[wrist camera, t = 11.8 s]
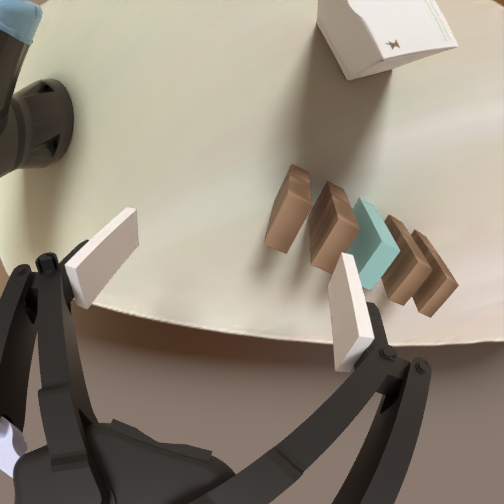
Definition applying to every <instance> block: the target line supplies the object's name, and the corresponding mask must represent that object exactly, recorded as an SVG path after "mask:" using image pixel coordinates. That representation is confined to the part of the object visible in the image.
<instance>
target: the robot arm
mask: <svg viewBox="0 0 504 504" xmlns="http://www.w3.org/2000/svg"><path fill="white" fill-rule="evenodd" d="M41 18H42V9H41V7H40V6H39V5H37V4H35V3H33V2H29V1H26V0H0V177H2V176H4V175H6V174H8V173H9V172H11V171H13V170H16V169H26V168H43V167H46V166H48V165H51V164H53V163H55V162H57V161H58V160H59V159H60V158H61V157H62V156H63V155H64V153H65V151H66V150H67V148H68V145H69V142H70V139H71V135H72V129H73V108H72V103H71V99H70V96H69V94H68V92H67V90H66V88H65V87H64V85H63V84H62V83H60V82H59V81H57V80H55V79H45V80H39V81H36V82H34V83H32V84H30V85H28V86H27V87H25V88H23V89H21V90H20V91H18V92H16V93H15V94H13V92H14V89H15V85H16V82H17V79H18V76H19V73H20V70H21V67H22V64H23V62H24V59H25V56H26V54H27V52H28V49H29V47H30V45H31V44H32V43H33V37H34V35H35V32H36V30H37V27H38V25H39V23H40V20H41ZM138 245H139V241H138V224H137V209H133V208H128V207H127V208H126V209H125V210H123V211H122V212H121V213H120V214H119V215H117V216H116V217H115V218H114V219H113V220H112V221H111V222H109V223H108V224H107V225H106V226H105V227H104V228H103V229H102V230H100V231H99V232H98V233H97V234H96V235H95V236H94V237H93V238H92V239H91V240H85V241H83V242H82V243H80V244H79V245H78V246H76V247H75V249H73V250H72V251H71V252H70V253H69V254H68V255H67V256H66V257H65V258H64V259H63V260H62V261H61V262H60V263H58V259H57V256H56V254H54V253H51V252H49V253H44V254H42V255H40V256H39V257H38V258H37V259H36V261H35V263H36V266H37V269H38V272H32V271H31V268H30V266H29V265H28V264H22V265H19V266H17V267H16V268H15V269H14V270H13V272H12V274H11V276H10V278H9V280H8V282H7V285H6V287H5V289H4V291H3V294H2V296H1V299H0V469H1V470H2V471H4V472H5V473H7V474H8V475H9V476H11V477H12V478H13V482H14V487H15V503H14V504H269V503H270V502H271V501H273V500H274V499H275V498H276V497H278V496H279V495H280V494H281V493H283V492H284V491H285V490H286V489H287V488H288V487H289V486H291V485H292V484H293V483H294V482H295V481H296V480H298V479H299V478H300V476H301V475H302V474H303V472H304V471H305V470H306V469H307V468H308V467H309V466H310V465H311V464H312V463H313V462H314V461H315V460H316V459H317V458H318V457H319V456H320V455H321V454H322V453H323V452H324V451H325V450H326V449H327V448H328V447H329V446H330V445H331V444H332V443H333V442H334V441H335V440H336V439H337V438H338V437H339V436H340V434H341V433H342V432H343V431H344V430H345V429H346V427H348V425H349V424H350V423H351V422H352V421H353V419H354V418H355V417H356V416H357V415H358V414H359V412H360V411H361V410H362V409H363V407H364V406H365V405H366V404H367V402H368V401H369V400H370V398H371V397H372V396H373V394H374V393H375V392H378V393H381V394H383V396H382V399H381V401H380V404H379V407H378V410H377V412H376V415H375V417H374V420H373V422H372V425H371V427H370V430H369V432H368V435H367V437H366V439H365V441H364V443H363V446H362V448H361V450H360V452H359V454H358V456H357V458H356V461H355V462H354V464H353V466H352V468H351V470H350V472H349V474H348V476H347V478H346V480H345V482H344V483H343V485H342V487H341V489H340V490H339V492H338V494H337V496H336V497H335V499H334V501H333V502H332V504H394V502H395V500H396V498H397V495H398V493H399V491H400V488H401V485H402V483H403V481H404V478H405V475H406V473H407V470H408V466H409V464H410V461H411V458H412V455H413V452H414V448H415V445H416V442H417V438H418V435H419V430H420V427H421V423H422V419H423V414H424V410H425V405H426V401H427V396H428V390H429V385H430V379H431V367H430V365H429V363H428V362H427V361H426V360H425V359H423V358H420V357H415V358H414V359H413V360H412V361H411V362H409V361H406V360H404V359H401V358H399V357H398V356H397V353H396V351H395V349H394V348H393V347H392V346H390V345H388V342H387V338H386V334H385V330H384V326H383V325H382V324H383V323H382V319H381V315H380V312H379V310H378V308H377V307H376V305H375V304H374V303H369V302H366V301H365V297H364V293H363V289H362V285H361V282H360V278H359V274H358V271H357V267H356V264H355V261H354V257H353V255H350V254H346V253H341V255H340V258H339V260H338V263H337V265H336V268H335V270H334V272H333V275H332V277H331V280H330V282H329V284H328V295H329V304H330V313H331V323H332V334H333V345H334V359H335V371H341V372H350V371H351V369H352V368H353V367H355V371H354V372H353V373H352V374H351V375H350V376H349V378H348V379H347V380H346V381H345V382H344V383H343V384H342V385H341V386H340V387H339V388H338V389H337V390H336V391H335V392H334V393H333V394H332V396H330V398H328V400H326V401H325V402H324V403H323V404H322V405H321V406H320V407H319V408H318V409H317V410H316V411H315V412H314V413H313V414H312V415H311V416H310V417H309V418H308V419H307V420H306V421H304V422H303V423H302V424H301V425H300V426H299V427H298V428H296V429H295V430H294V431H293V432H292V433H291V434H290V435H289V436H287V437H286V438H285V439H284V440H282V441H281V442H280V443H279V444H278V445H276V446H275V447H274V448H272V449H271V450H269V451H268V452H266V453H265V454H264V455H263V456H261V457H260V458H259V459H257V460H256V461H255V462H253V463H252V464H251V465H249V466H248V467H246V468H245V469H244V470H242V471H241V472H239V473H238V474H235V473H234V472H233V470H232V469H231V468H230V467H229V466H228V465H226V464H225V463H224V462H223V461H221V460H219V459H218V458H216V457H214V456H211V454H212V451H210V450H205V449H201V448H197V447H193V446H190V445H185V444H183V445H182V444H169V443H159V442H157V441H155V440H153V439H152V438H150V437H148V436H147V435H145V434H144V433H142V432H141V431H139V430H138V429H136V428H135V427H132V426H129V425H127V424H125V423H122V422H120V421H117V420H115V419H113V420H112V422H111V423H98V420H97V418H96V417H95V414H94V412H93V410H92V407H91V403H90V399H89V396H88V392H87V388H86V384H85V380H84V375H83V371H82V366H81V361H80V356H79V352H78V345H77V339H76V333H75V325H74V318H73V309H72V304H71V301H72V299H73V298H75V301H76V304H77V305H78V306H80V307H83V308H85V309H88V308H89V306H90V305H91V304H92V302H93V301H94V300H95V298H96V297H97V296H98V294H99V293H100V292H101V290H102V289H103V288H104V287H105V285H106V284H107V283H108V282H109V280H110V279H111V278H112V277H113V275H114V274H115V273H116V272H117V270H118V269H119V268H120V267H121V265H122V264H123V263H124V262H125V261H126V259H127V258H128V257H129V256H130V255H131V253H132V252H133V251H134V250H135V249H136V248H137V246H138ZM37 330H38V350H39V363H40V374H41V382H42V389H40V390H39V391H38V399H39V406H40V411H41V417H42V422H43V427H44V432H45V436H46V440H47V444H48V445H45V446H43V447H41V448H38V449H36V450H34V451H31V452H29V453H26V454H25V451H27V444H26V442H25V441H24V436H23V434H22V432H23V427H24V421H25V411H26V398H27V388H28V380H29V373H30V366H31V360H32V354H33V349H34V344H35V339H36V334H37Z"/></svg>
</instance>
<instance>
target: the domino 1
mask: <svg viewBox="0 0 504 504" xmlns="http://www.w3.org/2000/svg"><path fill="white" fill-rule="evenodd" d="M311 208H312V196H311V187H310V178H309V172H308V171H306V170H303V169H301V168H299V167H297V166H295V165H293V164H292V165H291V167H290V169H289V171H288V173H287V175H286V177H285V179H284V182H283V184H282V186H281V188H280V190H279V192H278V194H277V196H276V199H275V201H274V205H273V209H272V213H271V217H270V221H269V225H268V228H267V232H266V236H265V240H264V244H265V245H267V246H270V247H272V248H274V249H276V250H279V251H281V252H283V253H286V254H287V252H288V250H289V248H290V246H291V245H292V243H293V241H294V239H295V237H296V236H297V234H298V232H299V230H300V228H301V226H302V225H303V223H304V221H305V219H306V217H307V215H308V213H309V212H310V210H311Z"/></svg>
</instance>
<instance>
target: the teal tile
mask: <svg viewBox="0 0 504 504" xmlns="http://www.w3.org/2000/svg"><path fill="white" fill-rule="evenodd" d="M353 213H354V215H355V218H356V220H357V222H358V225H359V227H360V232H359V233H358V235H357V237H356V238H355V240H354V241H353V243H352V244H351V246H350V247H349V249H348V250H347V252H346V254H350V255H353V257H354V261H355V264H356V267H357V271H358V274H359V278H360V282H361V285H362V287H363V288H366V289H368V290H370V291H371V290H372V288H373V287H374V286H375V284H376V283H377V282H378V281H379V279H380V278H381V277H382V275H383V274H384V273H385V271H386V270H387V269H388V267H389V266H390V265H391V263H392V262H393V260H394V259H395V258H396V256H397V255H398V253H399V252H400V250H399V248H398V246H397V244H396V242H395V240H394V239H393V237H392V235H391V233H390V231H389V230H388V228H387V226H386V224H385V223H384V221H383V219H382V218H381V216H380V214H379V213H378V211H377V209H376V208H375V206H374V205H372V204H371V203H369V202H367V201H365V200H363V199H361V198H359V199H358V201H357V203H356V205H355V206H354V208H353Z"/></svg>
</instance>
